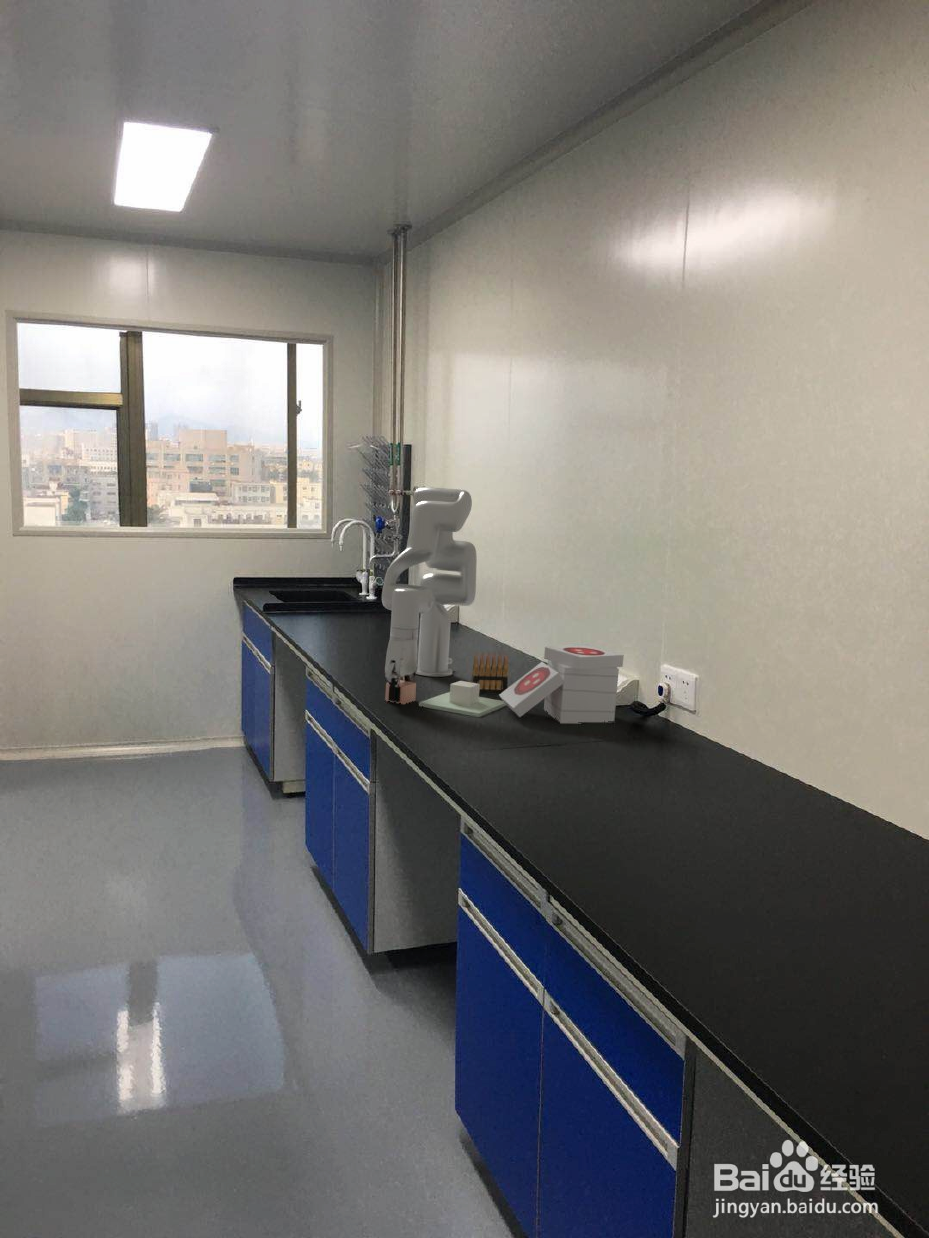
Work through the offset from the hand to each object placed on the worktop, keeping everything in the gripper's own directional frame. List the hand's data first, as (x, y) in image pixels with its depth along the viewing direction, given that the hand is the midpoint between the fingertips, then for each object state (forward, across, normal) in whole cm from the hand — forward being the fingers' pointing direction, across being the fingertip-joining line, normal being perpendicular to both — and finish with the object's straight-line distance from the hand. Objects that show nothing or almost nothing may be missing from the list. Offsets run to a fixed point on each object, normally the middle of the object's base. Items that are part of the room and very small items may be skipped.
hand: (400, 698), depth 269 cm
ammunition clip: (+1, -27, +14) cm, 30 cm away
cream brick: (0, -7, +16) cm, 18 cm away
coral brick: (+1, 0, 0) cm, 1 cm away
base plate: (+1, -7, +16) cm, 17 cm away
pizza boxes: (+1, -14, +41) cm, 43 cm away
